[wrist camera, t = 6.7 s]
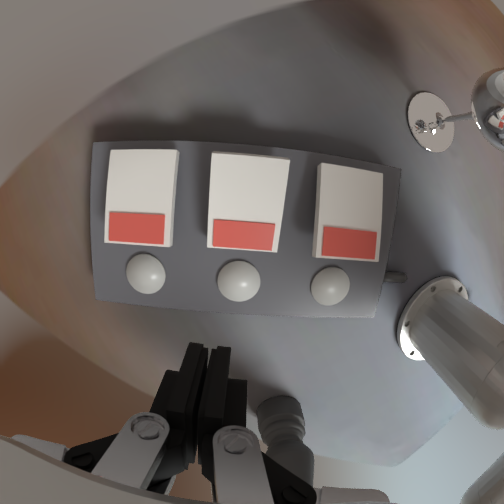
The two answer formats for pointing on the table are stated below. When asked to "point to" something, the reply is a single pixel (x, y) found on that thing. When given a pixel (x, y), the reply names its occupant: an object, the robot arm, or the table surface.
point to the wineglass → (442, 122)
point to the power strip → (239, 261)
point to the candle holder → (286, 435)
